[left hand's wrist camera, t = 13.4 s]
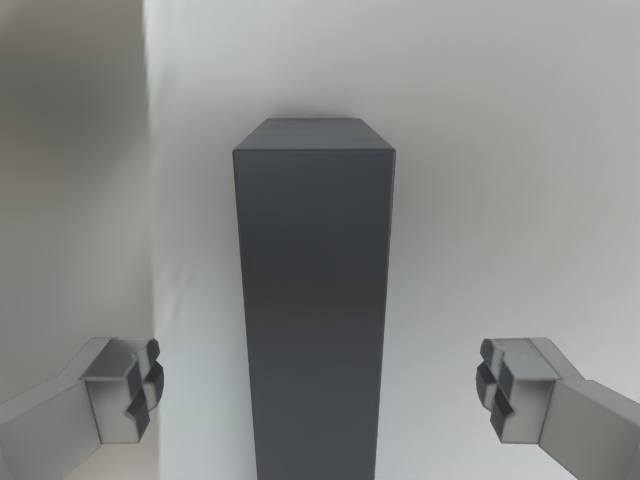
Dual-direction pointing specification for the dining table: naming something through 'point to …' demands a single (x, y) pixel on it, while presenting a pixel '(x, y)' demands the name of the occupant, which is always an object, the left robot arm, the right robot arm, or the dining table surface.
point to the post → (314, 292)
